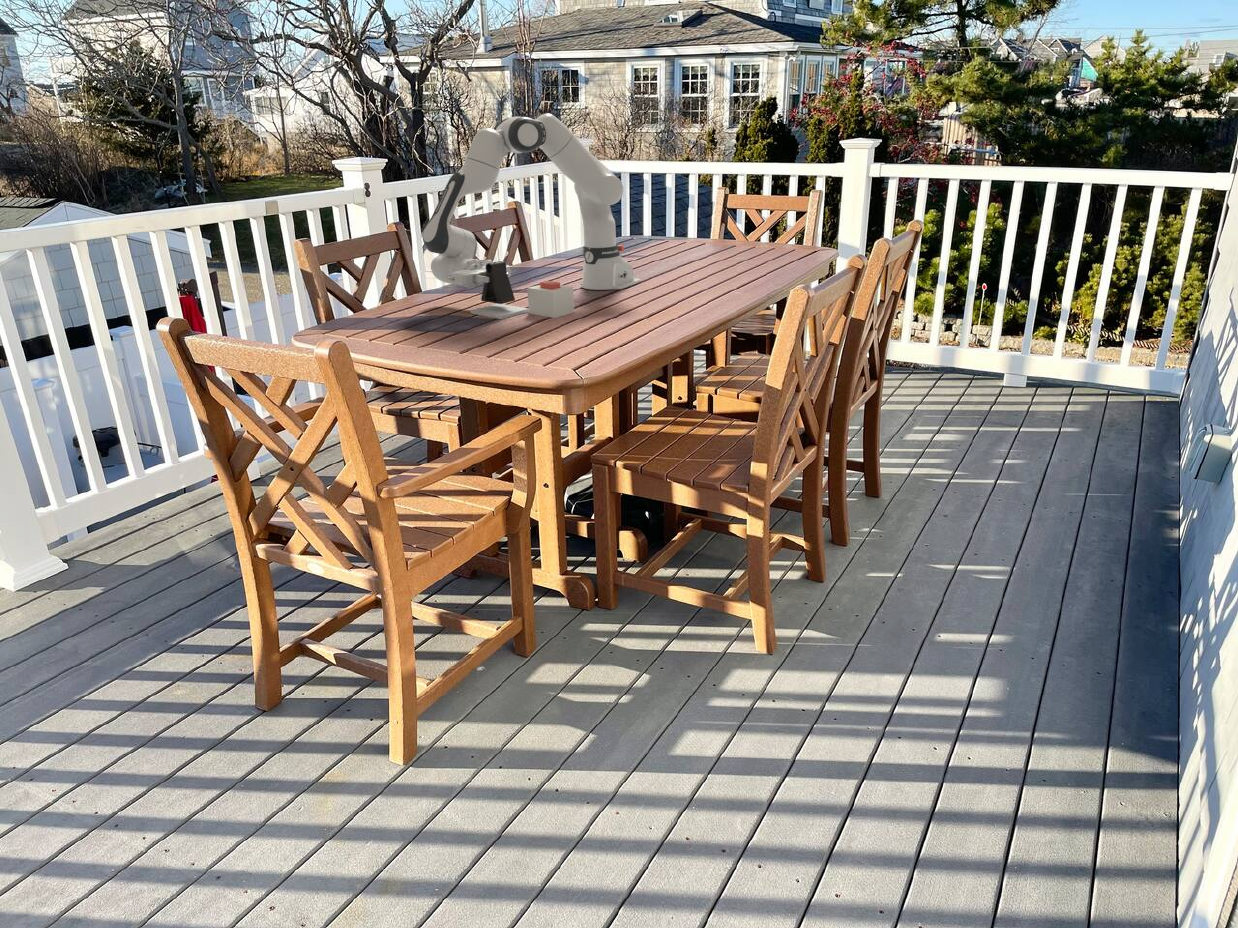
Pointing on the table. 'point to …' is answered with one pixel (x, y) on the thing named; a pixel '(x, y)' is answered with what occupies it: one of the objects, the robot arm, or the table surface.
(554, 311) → the box
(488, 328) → the table surface
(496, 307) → the grey mat
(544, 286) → the button
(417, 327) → the table surface
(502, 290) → the phone stand
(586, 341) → the table surface
